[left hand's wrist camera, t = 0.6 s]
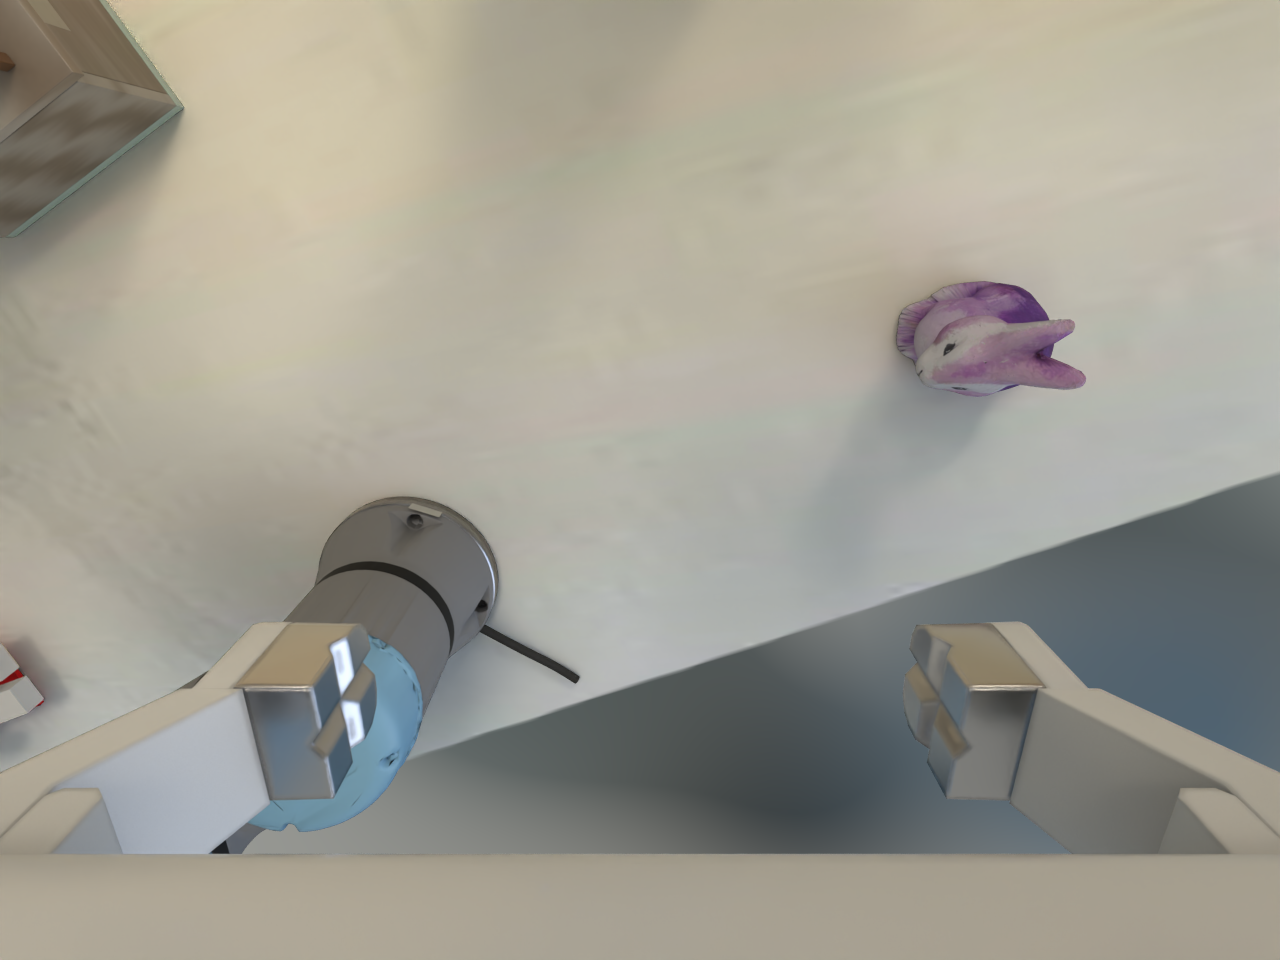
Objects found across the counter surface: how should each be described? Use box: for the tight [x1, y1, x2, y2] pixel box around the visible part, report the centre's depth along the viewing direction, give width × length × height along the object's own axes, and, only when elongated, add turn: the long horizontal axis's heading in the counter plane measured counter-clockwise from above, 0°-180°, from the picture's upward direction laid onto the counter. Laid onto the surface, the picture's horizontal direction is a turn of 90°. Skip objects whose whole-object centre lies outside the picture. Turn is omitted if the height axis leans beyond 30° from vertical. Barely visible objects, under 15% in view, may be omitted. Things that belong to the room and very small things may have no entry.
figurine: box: [896, 281, 1086, 397], centre depth 48 cm, size 9×10×15 cm
